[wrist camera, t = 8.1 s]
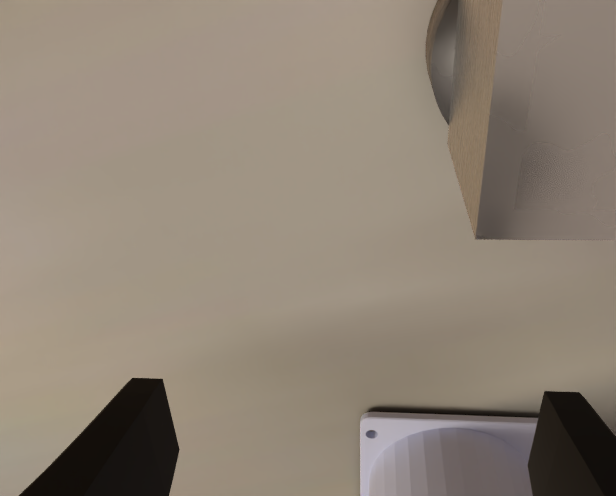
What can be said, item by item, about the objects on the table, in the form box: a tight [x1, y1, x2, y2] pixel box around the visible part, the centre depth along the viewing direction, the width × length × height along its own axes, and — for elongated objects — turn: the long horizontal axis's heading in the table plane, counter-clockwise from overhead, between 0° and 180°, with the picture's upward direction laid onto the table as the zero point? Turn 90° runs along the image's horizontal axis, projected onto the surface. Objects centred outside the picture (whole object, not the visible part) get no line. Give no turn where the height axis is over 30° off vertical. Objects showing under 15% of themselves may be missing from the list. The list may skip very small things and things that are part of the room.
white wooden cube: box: [447, 0, 616, 240], centre depth 13 cm, size 5×5×6 cm
